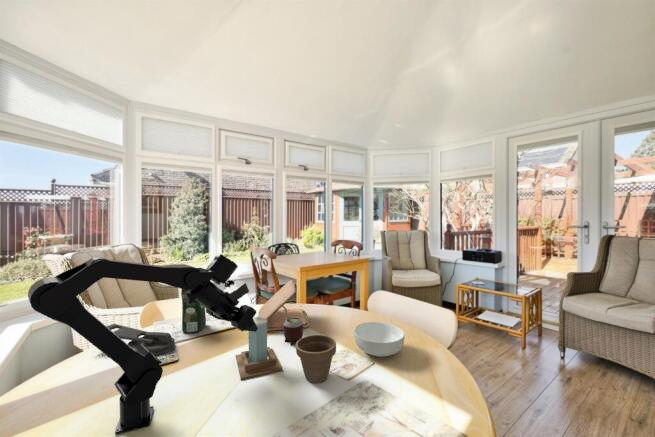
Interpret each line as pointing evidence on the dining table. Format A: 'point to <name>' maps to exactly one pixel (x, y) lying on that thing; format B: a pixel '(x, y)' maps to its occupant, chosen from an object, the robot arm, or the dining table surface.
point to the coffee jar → (192, 315)
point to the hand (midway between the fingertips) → (247, 325)
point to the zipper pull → (145, 339)
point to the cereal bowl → (379, 338)
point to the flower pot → (316, 356)
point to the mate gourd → (292, 329)
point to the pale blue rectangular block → (258, 341)
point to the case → (277, 316)
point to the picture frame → (257, 365)
